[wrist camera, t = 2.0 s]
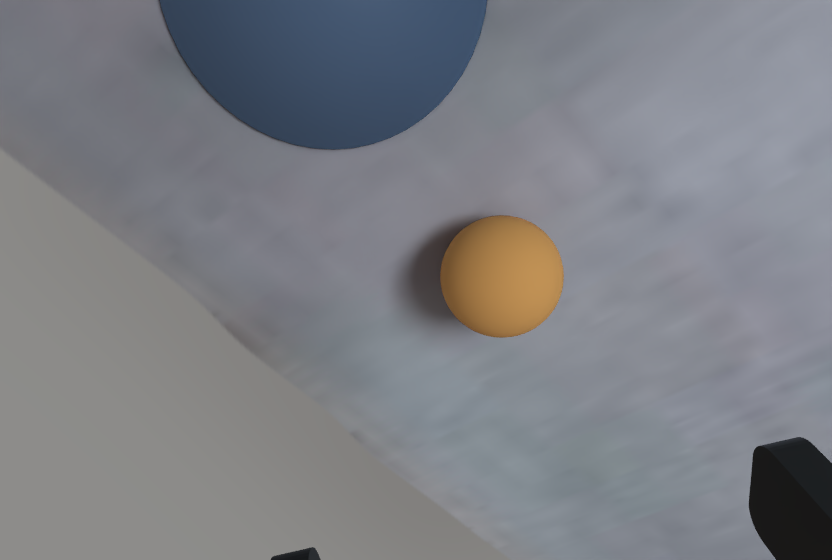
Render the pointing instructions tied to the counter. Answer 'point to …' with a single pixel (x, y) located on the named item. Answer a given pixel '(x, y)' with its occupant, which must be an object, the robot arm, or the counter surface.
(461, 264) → the ball
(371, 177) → the counter surface
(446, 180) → the counter surface
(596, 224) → the counter surface
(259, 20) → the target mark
